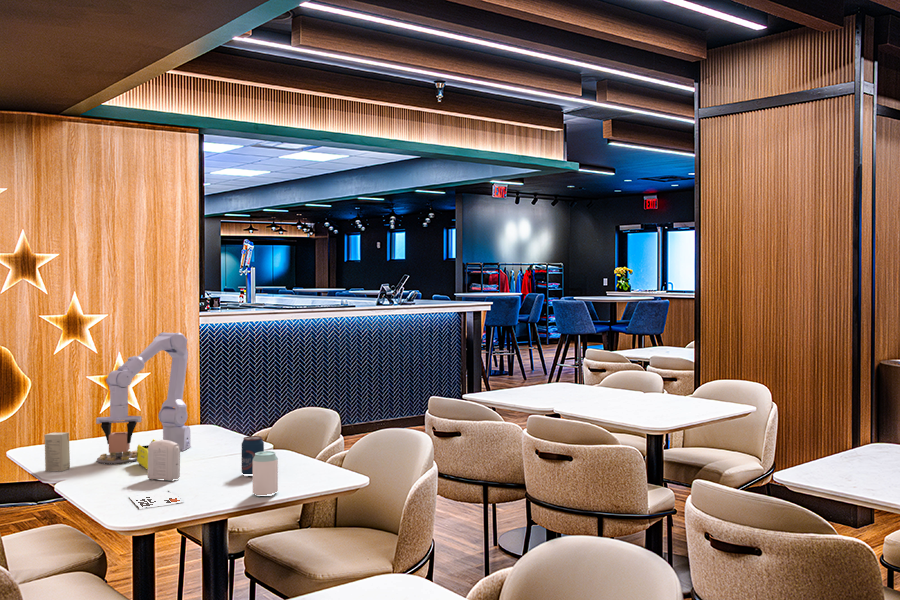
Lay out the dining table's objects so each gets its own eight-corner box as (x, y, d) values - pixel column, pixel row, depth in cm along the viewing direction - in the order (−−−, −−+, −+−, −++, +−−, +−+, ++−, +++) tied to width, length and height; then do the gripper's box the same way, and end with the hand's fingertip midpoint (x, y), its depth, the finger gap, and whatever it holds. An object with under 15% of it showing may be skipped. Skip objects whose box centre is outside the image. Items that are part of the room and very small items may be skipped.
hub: (147, 456, 270) (147, 443, 270) (129, 464, 256) (129, 451, 256) (109, 455, 271) (109, 443, 271) (89, 464, 257) (89, 451, 257)
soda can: (237, 476, 238) (237, 438, 238) (250, 471, 245) (250, 435, 245) (255, 478, 236) (255, 440, 236) (268, 473, 242) (268, 436, 242)
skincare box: (70, 468, 250) (70, 432, 250) (62, 471, 245) (62, 434, 245) (52, 468, 250) (52, 431, 250) (44, 471, 246) (44, 434, 246)
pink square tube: (129, 448, 267) (129, 431, 267) (126, 451, 261) (126, 434, 261) (112, 449, 266) (112, 432, 266) (108, 452, 260) (108, 435, 260)
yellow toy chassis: (165, 470, 247) (165, 445, 247) (147, 472, 244) (147, 447, 244) (153, 462, 260) (153, 438, 260) (136, 464, 257) (136, 439, 257)
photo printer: (182, 479, 235) (182, 439, 235) (173, 482, 231) (173, 442, 231) (154, 477, 238) (154, 438, 238) (145, 480, 234) (145, 440, 234)
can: (254, 498, 211) (254, 456, 211) (250, 493, 218) (250, 451, 218) (279, 496, 214) (279, 454, 214) (275, 490, 220) (275, 449, 220)
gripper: (94, 406, 258) (94, 446, 258) (138, 405, 261) (139, 444, 261) (98, 404, 265) (98, 442, 265) (142, 402, 268) (142, 440, 268)
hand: (119, 443), depth 263 cm, fingers closed on pink square tube, 6 cm apart
